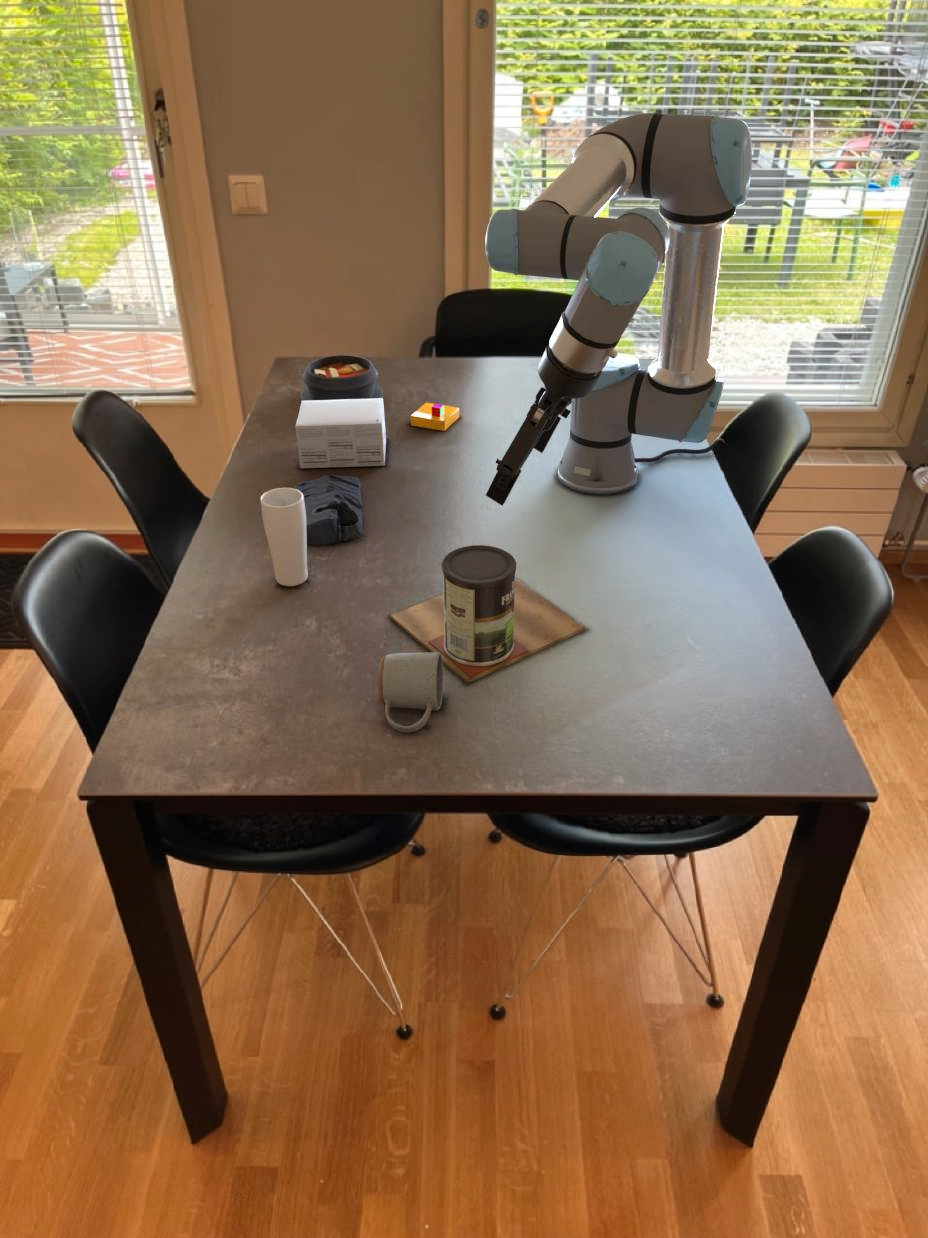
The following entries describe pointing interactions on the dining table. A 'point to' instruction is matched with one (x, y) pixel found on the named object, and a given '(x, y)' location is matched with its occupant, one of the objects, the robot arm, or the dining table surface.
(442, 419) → the yellow tile with knob
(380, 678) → the ceramic mug
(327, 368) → the casserole
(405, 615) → the placemat
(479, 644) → the coffee can
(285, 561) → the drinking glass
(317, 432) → the supplement box
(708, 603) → the dining table surface
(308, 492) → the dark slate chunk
